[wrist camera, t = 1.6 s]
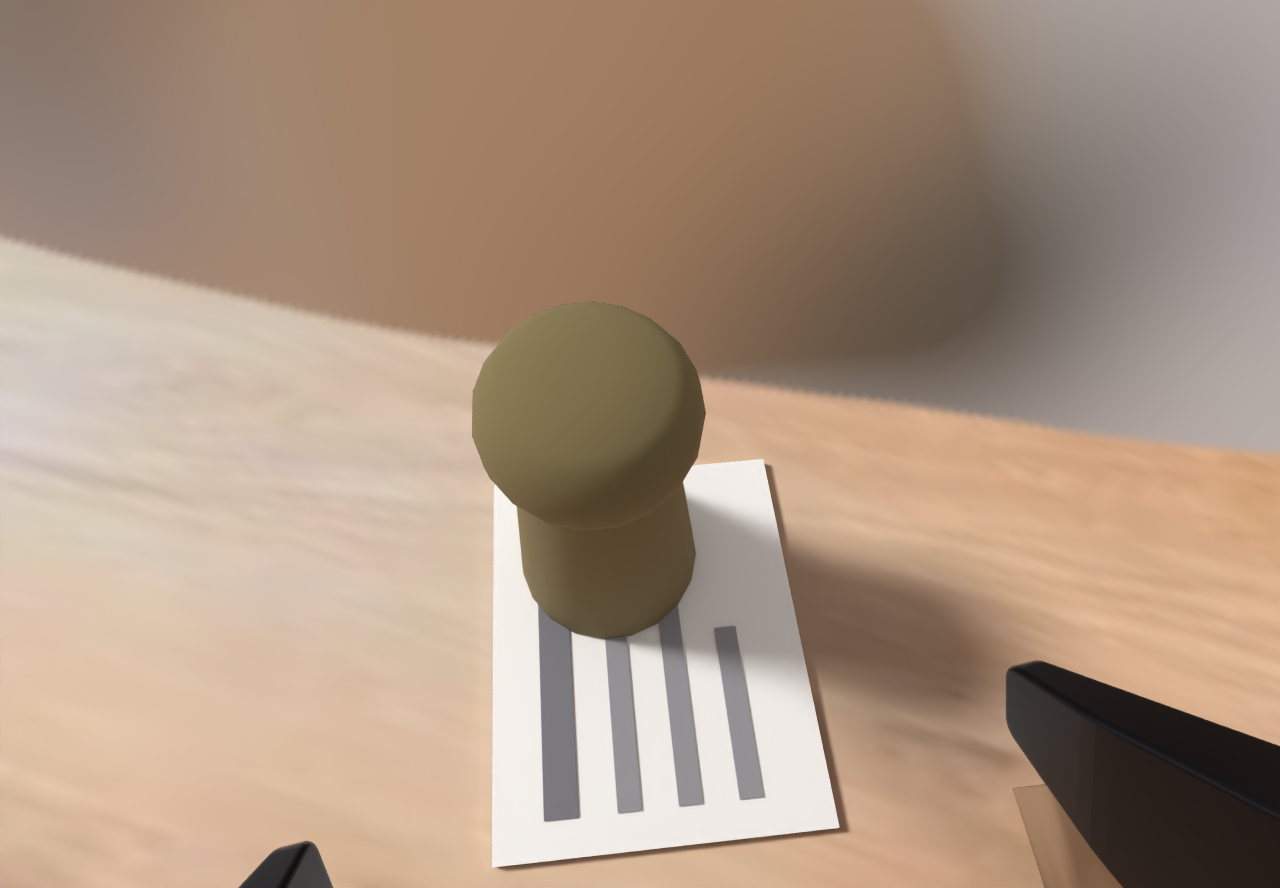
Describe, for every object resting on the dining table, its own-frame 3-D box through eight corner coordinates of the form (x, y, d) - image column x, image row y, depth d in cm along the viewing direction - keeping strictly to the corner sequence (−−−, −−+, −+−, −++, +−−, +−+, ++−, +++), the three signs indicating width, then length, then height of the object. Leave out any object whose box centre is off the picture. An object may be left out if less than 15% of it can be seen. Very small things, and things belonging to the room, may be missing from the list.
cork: (730, 574, 23) (794, 406, 13) (579, 676, 21) (524, 571, 12) (634, 444, 25) (627, 220, 16) (491, 527, 24) (384, 337, 14)
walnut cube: (1258, 974, 18) (1456, 1028, 14) (1078, 997, 18) (1220, 1061, 13) (1170, 769, 20) (1315, 759, 16) (1011, 787, 20) (1112, 783, 16)
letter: (836, 827, 20) (840, 828, 19) (494, 866, 19) (491, 867, 19) (761, 462, 25) (763, 458, 25) (495, 487, 25) (493, 483, 25)
